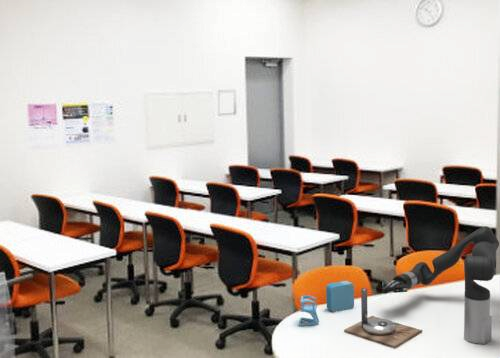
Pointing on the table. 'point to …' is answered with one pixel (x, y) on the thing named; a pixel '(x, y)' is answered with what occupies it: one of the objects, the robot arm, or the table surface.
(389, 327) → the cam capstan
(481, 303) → the robot arm
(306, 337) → the table surface
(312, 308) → the chair
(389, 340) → the base plate
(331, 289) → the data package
